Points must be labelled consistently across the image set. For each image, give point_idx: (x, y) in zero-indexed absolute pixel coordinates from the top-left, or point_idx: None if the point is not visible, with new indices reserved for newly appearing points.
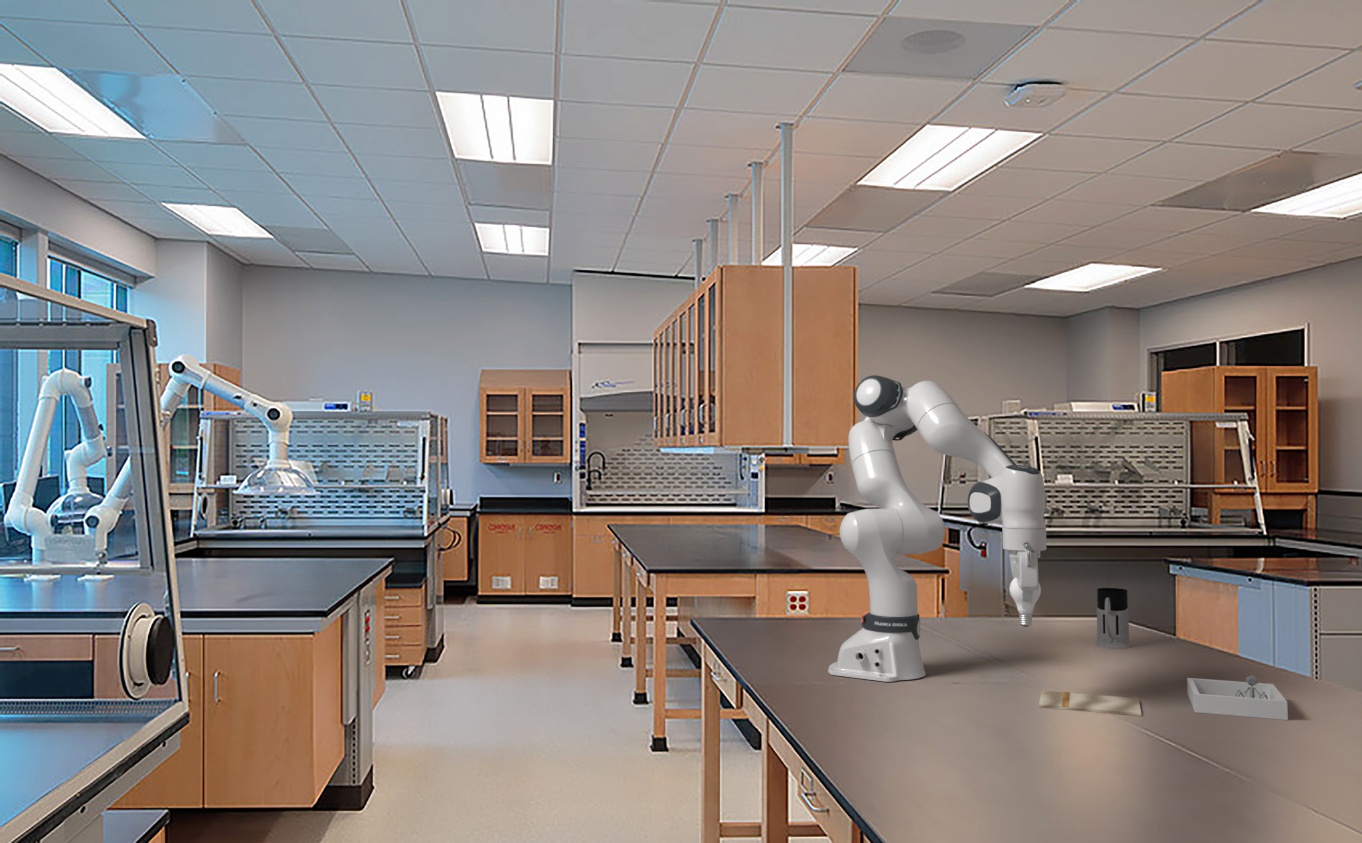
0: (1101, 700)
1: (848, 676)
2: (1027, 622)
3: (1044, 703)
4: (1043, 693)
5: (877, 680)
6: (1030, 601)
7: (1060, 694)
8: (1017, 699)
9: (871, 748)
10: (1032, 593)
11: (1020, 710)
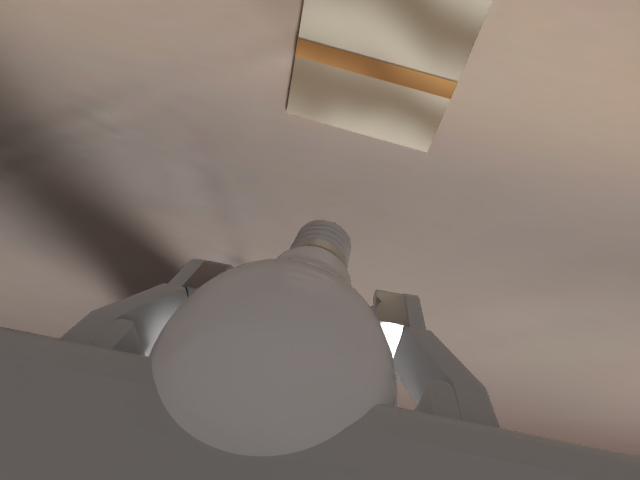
0: None
1: None
2: (349, 248)
3: (416, 136)
4: (315, 115)
5: None
6: (424, 332)
7: (321, 71)
8: (357, 181)
9: (635, 419)
10: (483, 387)
11: (452, 196)
